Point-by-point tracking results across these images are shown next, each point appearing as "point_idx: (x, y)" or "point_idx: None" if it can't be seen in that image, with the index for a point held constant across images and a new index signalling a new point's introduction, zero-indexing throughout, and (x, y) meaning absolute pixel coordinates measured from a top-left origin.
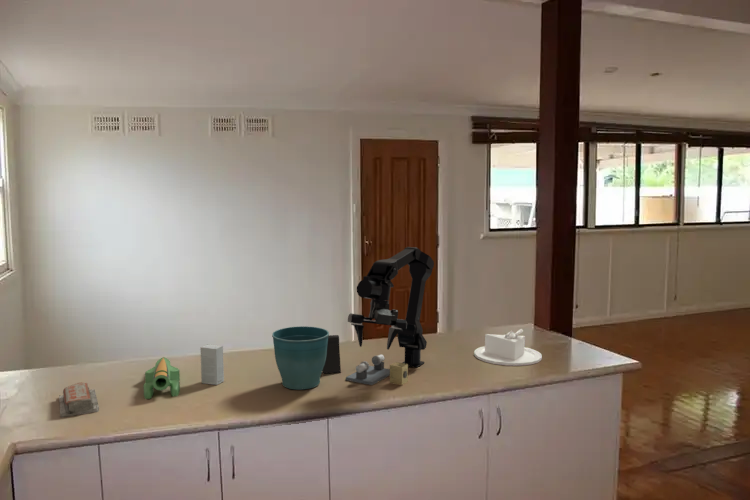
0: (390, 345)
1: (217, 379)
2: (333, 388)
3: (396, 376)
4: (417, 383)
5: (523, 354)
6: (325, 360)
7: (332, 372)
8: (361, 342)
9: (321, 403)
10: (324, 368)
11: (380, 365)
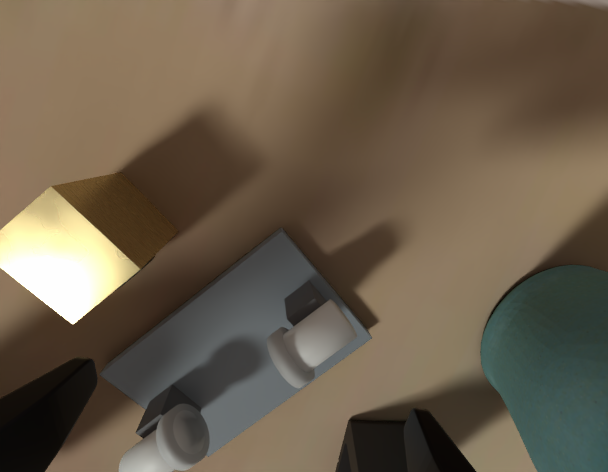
0: (22, 389)
1: None
2: (461, 245)
3: (129, 208)
4: (14, 167)
5: None
6: (570, 379)
7: (383, 422)
8: (442, 453)
9: (602, 67)
10: None
11: (167, 406)
